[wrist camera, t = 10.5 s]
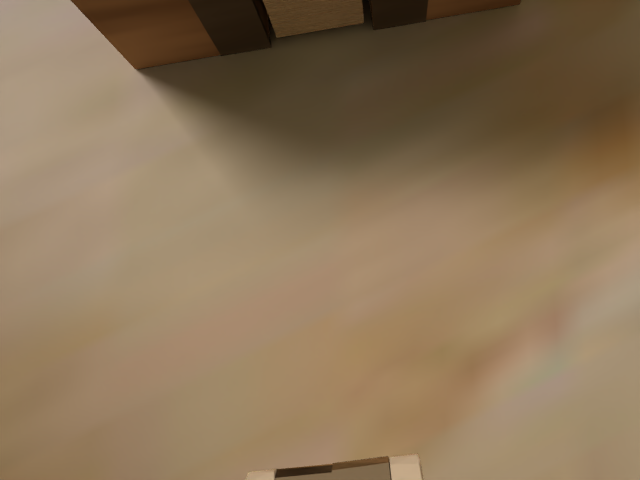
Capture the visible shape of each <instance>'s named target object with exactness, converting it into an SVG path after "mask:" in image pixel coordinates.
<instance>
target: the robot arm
mask: <svg viewBox="0 0 640 480" xmlns="http://www.w3.org/2000/svg"><path fill="white" fill-rule="evenodd" d="M389 460H390V462H389ZM246 480H424V479H423V473H422V467H421V461H420V458H419V455H418V453H417V454H409V455H401V456H393V457H388V456H385V457H377V458H369V459H361V460H353V461H345V462H337V463H333V464H325V465H315V466H305V467H295V468H285V469H271V470H262V471H253V472H248V475H247V478H246Z"/></svg>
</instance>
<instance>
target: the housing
mask: <svg viewBox="0 0 640 480" xmlns="http://www.w3.org/2000/svg"><path fill="white" fill-rule="evenodd" d="M71 1H72V2H73V3H74V4H75V5H76V6H77V7H78V9H79V10H80V11H81V12H82V13H83V14H84V15H85V16H86V17H87V18H88V19H89V20H90V21H91V22H92V23H93V25H94V26H95V27H96V28H97V29H98V30H99V31H100V32H101V33H102V34H103V35H104V36H105V37H106V38H107V39H108V41H109V42H110V43H111V44H112V45H113V46H114V47H115V48H116V49H117V50H118V51H119V52H120V53H121V54H122V55H123V57H124V58H125V59H126V60H127V61H128V62H129V63H130V64H131V65H132V66H133V67H134V68H135V69H141V68H147V67H153V66H159V65H165V64H170V63H176V62H182V61H188V60H194V59H200V58H206V57H212V56H218V55H221V56H223V55H229V54H235V53H241V52H247V51H253V50H259V49H265V48H271V42H270V33H269V24H268V15H267V10H266V7H265V5H264V2H263V0H71ZM369 2H370V9H371V16H372V23H373V30H377V29H383V28H389V27H395V26H400V25H406V24H412V23H418V22H424V21H426V20H430V19H436V18H442V17H447V16H453V15H459V14H465V13H471V12H477V11H483V10H489V9H495V8H500V7H506V6H512V5H518V4H520V2H521V0H369Z"/></svg>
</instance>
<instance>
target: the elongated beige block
mask: <svg viewBox="0 0 640 480" xmlns="http://www.w3.org/2000/svg"><path fill="white" fill-rule="evenodd" d="M263 2H264V5H265V7H266V10H267V13H268V15H269V18H270V21H271V23H272V26H273V29H274V31H275V34H276V37H277V38H279V37H284V36H290V35H296V34H302V33H308V32H314V31H319V30H325V29H331V28H337V27H343V26H349V25H355V24H360V23H364V17H363V5H362V0H263Z"/></svg>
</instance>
